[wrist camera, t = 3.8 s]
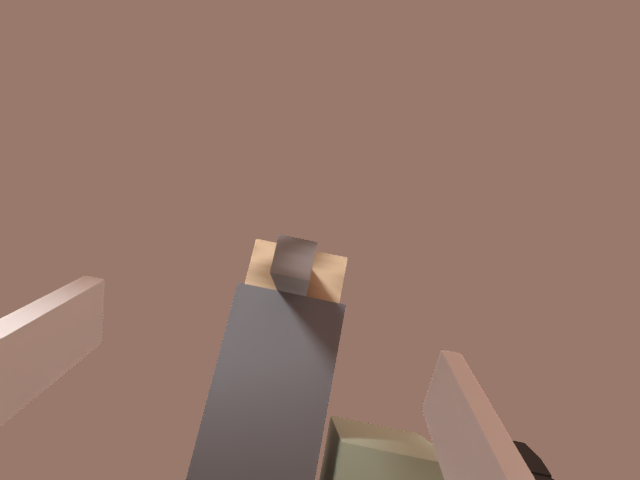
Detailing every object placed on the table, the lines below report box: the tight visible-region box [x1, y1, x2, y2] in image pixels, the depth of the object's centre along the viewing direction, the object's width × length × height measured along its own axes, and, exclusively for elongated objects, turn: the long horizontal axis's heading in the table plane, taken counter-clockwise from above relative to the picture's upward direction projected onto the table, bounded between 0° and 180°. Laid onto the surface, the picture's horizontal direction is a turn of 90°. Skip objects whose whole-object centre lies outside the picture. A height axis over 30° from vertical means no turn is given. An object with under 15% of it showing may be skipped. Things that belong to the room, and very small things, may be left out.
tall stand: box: [186, 283, 346, 480], centre depth 30 cm, size 9×10×30 cm
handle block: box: [245, 234, 347, 303], centre depth 30 cm, size 8×16×4 cm, turn 3°
